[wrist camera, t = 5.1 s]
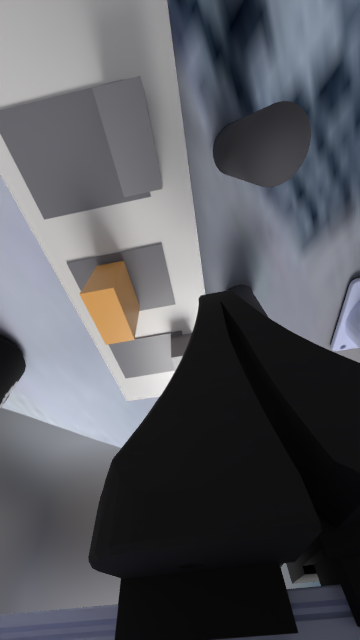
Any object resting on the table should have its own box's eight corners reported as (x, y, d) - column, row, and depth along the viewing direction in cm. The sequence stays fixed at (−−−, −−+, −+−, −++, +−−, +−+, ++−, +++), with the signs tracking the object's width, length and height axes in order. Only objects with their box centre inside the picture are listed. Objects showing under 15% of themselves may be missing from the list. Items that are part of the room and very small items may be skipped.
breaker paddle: (123, 260, 12) (113, 287, 9) (140, 307, 14) (134, 339, 11) (96, 265, 12) (79, 294, 9) (116, 311, 14) (105, 344, 11)
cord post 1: (255, 117, 12) (316, 93, 7) (254, 170, 13) (304, 179, 9) (211, 127, 12) (241, 110, 7) (215, 179, 14) (242, 193, 9)
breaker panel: (158, -11, 9) (150, -187, 5) (209, 353, 22) (221, 408, 18) (-19, 38, 10) (-194, -74, 5) (132, 366, 23) (124, 423, 18)
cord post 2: (252, 282, 18) (285, 329, 13) (252, 307, 19) (281, 357, 15) (223, 288, 18) (244, 336, 13) (224, 312, 19) (244, 363, 15)
